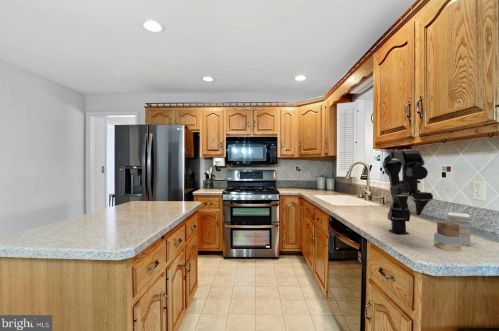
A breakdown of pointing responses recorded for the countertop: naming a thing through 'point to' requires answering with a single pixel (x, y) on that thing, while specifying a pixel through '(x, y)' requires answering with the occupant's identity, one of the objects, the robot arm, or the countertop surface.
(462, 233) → the supplement box
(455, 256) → the countertop surface
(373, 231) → the countertop surface
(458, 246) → the tower base
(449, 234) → the walnut cube
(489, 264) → the countertop surface
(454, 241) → the tower mid
